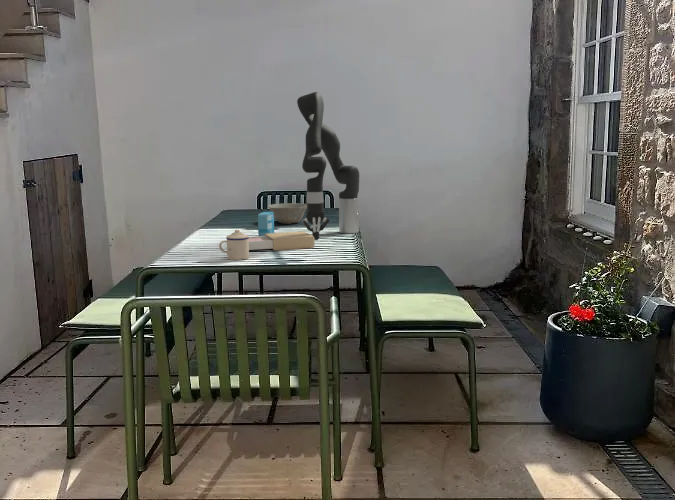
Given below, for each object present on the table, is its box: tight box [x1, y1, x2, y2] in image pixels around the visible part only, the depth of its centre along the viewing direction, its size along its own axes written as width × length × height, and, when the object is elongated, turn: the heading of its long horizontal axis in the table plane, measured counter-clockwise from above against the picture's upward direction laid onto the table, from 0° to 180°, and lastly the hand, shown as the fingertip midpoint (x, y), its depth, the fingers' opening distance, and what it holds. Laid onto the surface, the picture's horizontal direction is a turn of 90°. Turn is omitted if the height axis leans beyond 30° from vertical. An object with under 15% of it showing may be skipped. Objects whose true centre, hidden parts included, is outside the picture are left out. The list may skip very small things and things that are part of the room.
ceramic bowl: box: [267, 202, 307, 225], centre depth 368 cm, size 22×23×10 cm
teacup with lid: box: [218, 229, 250, 261], centre depth 265 cm, size 12×9×12 cm
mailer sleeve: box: [265, 230, 315, 251], centre depth 293 cm, size 18×16×5 cm
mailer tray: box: [248, 235, 316, 251], centre depth 291 cm, size 32×14×4 cm, turn 109°
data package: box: [257, 211, 275, 236], centre depth 318 cm, size 12×4×12 cm, turn 170°
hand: (315, 240), depth 298 cm, fingers closed
